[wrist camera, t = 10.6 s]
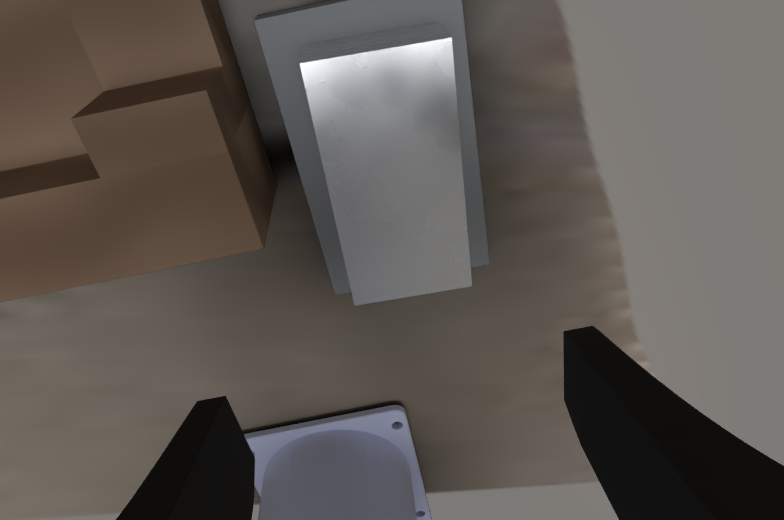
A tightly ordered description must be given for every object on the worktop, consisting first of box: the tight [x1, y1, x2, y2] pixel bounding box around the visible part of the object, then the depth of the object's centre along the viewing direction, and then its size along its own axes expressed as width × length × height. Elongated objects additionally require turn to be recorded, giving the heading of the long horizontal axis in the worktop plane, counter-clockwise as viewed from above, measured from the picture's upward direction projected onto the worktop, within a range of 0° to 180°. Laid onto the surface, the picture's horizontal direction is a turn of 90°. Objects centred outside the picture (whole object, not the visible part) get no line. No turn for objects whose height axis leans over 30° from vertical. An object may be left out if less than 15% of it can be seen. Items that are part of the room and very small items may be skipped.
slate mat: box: [254, 0, 490, 295], centre depth 19 cm, size 10×6×1 cm, turn 10°
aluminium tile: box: [300, 21, 472, 306], centre depth 18 cm, size 8×4×2 cm, turn 8°
